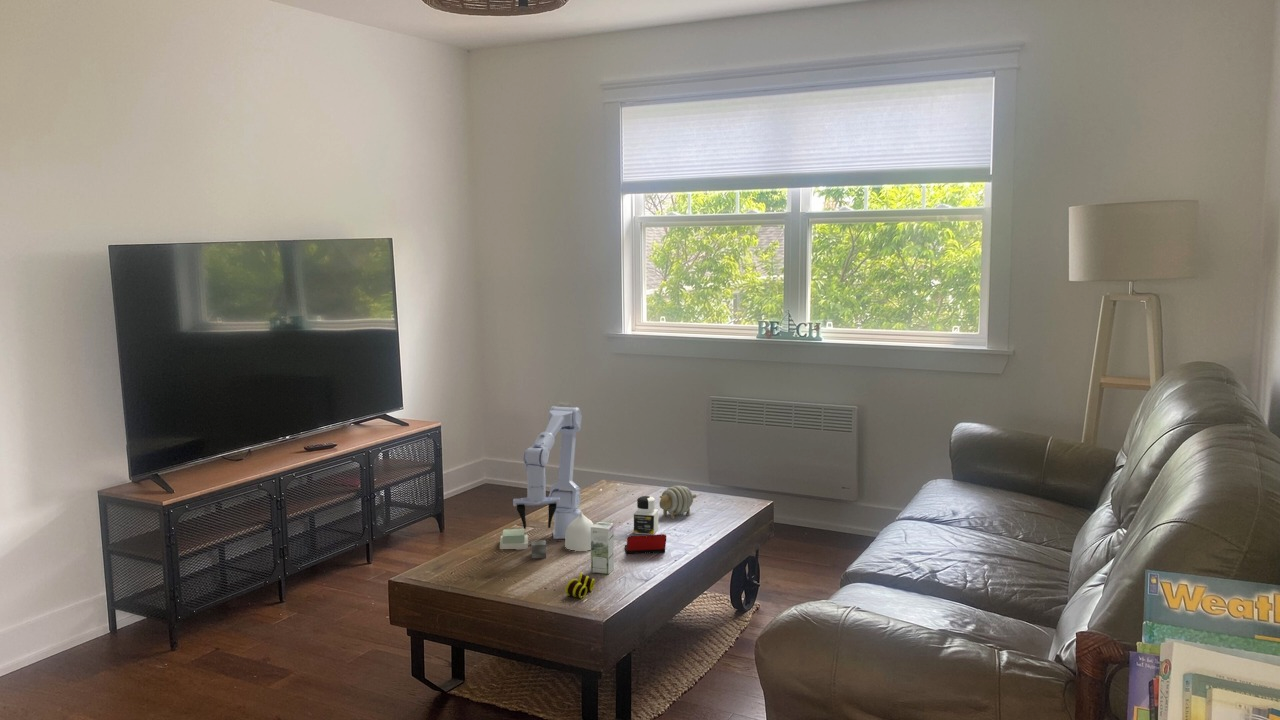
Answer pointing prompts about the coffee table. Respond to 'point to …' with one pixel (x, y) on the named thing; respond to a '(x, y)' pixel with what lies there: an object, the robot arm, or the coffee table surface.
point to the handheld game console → (646, 544)
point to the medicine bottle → (646, 516)
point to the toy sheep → (676, 500)
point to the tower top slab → (513, 536)
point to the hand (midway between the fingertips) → (537, 527)
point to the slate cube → (539, 549)
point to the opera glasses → (579, 586)
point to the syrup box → (602, 547)
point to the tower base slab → (514, 544)
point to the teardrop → (579, 534)
